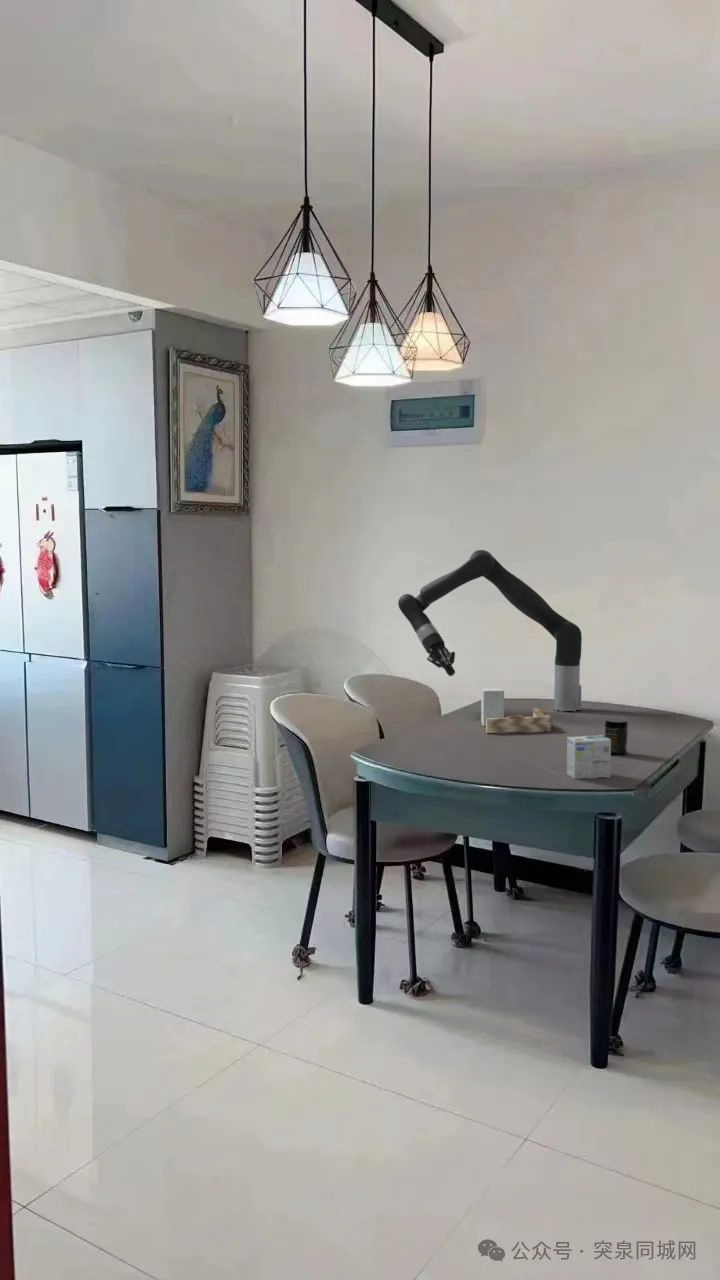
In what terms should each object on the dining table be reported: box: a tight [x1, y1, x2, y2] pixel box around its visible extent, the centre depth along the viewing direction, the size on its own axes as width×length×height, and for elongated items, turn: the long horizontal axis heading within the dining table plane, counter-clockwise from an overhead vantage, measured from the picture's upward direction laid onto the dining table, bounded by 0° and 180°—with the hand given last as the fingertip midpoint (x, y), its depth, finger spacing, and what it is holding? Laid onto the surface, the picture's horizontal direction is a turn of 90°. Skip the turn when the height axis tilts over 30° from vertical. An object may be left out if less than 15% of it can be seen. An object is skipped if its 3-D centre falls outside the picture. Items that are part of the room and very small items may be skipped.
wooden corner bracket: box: [485, 707, 552, 734], centre depth 337 cm, size 23×17×6 cm
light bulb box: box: [566, 734, 612, 780], centre depth 272 cm, size 11×7×11 cm, turn 99°
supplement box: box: [480, 687, 505, 727], centre depth 342 cm, size 7×7×13 cm
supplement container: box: [604, 717, 629, 756], centre depth 298 cm, size 7×7×10 cm
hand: (452, 674), depth 357 cm, fingers closed
